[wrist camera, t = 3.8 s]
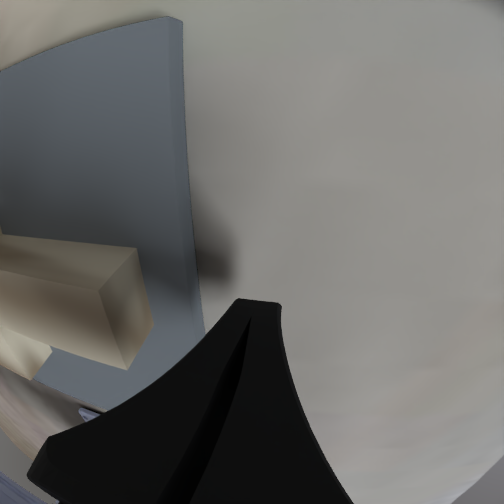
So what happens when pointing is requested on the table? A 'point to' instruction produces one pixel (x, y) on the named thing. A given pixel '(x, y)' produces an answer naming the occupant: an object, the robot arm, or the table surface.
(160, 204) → the mat
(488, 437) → the table surface
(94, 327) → the t block
